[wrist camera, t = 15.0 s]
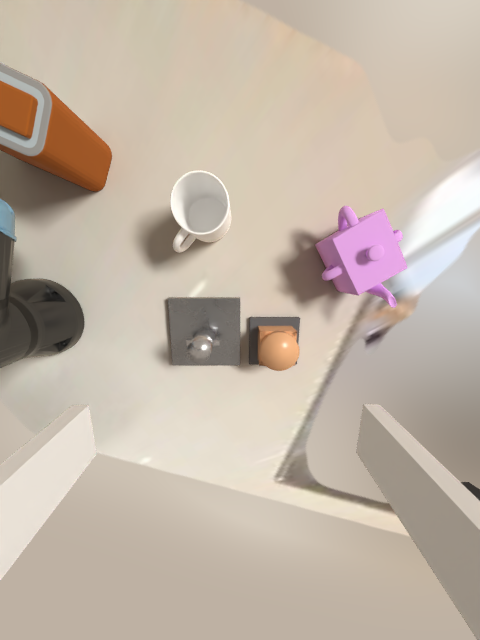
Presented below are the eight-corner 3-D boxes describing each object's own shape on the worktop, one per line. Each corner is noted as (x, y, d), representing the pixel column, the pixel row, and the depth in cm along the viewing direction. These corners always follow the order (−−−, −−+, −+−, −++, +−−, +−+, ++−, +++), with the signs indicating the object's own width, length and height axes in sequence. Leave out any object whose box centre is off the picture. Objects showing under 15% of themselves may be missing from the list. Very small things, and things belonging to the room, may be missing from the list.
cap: (257, 325, 45) (260, 333, 39) (292, 325, 45) (300, 333, 39) (257, 357, 46) (259, 370, 40) (290, 357, 46) (298, 370, 40)
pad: (249, 362, 47) (249, 364, 46) (249, 317, 45) (250, 317, 44) (295, 362, 47) (296, 364, 47) (298, 317, 45) (299, 318, 44)
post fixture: (174, 362, 47) (159, 384, 38) (169, 297, 44) (152, 304, 35) (239, 362, 47) (240, 384, 38) (240, 297, 44) (240, 304, 35)
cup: (240, 215, 41) (241, 198, 31) (201, 267, 43) (190, 267, 33) (204, 184, 39) (193, 155, 30) (165, 239, 42) (143, 229, 32)
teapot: (394, 283, 44) (439, 287, 34) (330, 318, 45) (356, 332, 35) (357, 197, 40) (396, 174, 30) (290, 238, 42) (306, 229, 32)
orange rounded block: (115, 145, 38) (50, 80, 25) (102, 196, 40) (35, 159, 27) (28, 105, 37) (-90, 13, 23) (18, 159, 38) (-97, 101, 25)
